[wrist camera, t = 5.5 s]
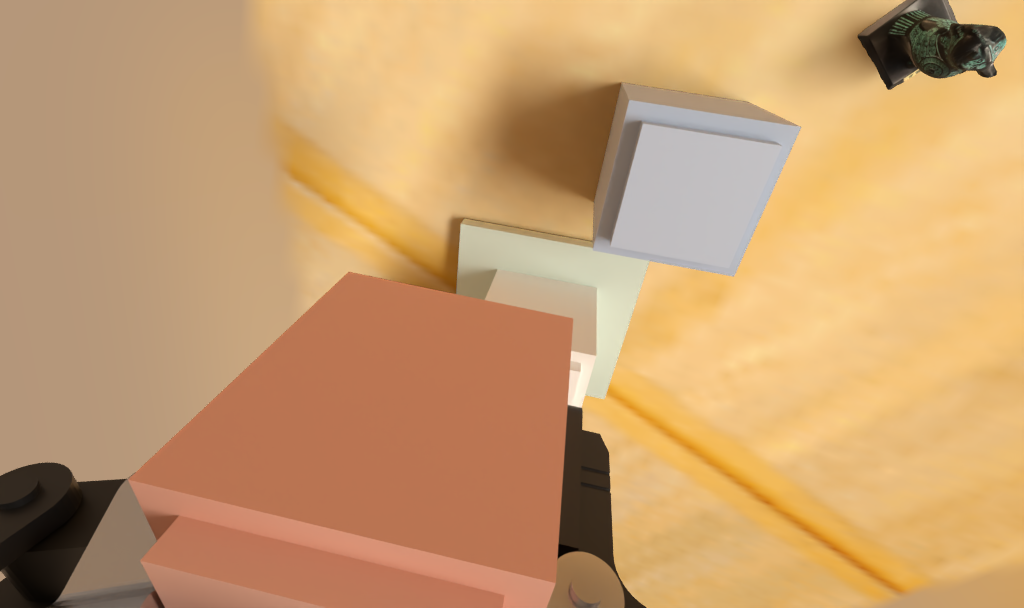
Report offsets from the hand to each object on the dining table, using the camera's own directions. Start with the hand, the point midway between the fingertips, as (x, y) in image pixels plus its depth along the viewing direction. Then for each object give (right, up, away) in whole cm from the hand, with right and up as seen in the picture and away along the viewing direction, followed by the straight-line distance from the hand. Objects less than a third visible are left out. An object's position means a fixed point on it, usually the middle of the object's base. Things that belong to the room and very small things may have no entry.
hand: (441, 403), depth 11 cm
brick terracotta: (0, 0, +1) cm, 1 cm away
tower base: (+4, +2, +15) cm, 16 cm away
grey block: (+9, +10, +10) cm, 16 cm away
